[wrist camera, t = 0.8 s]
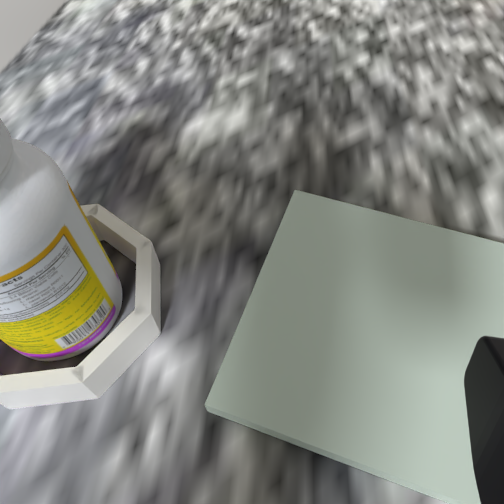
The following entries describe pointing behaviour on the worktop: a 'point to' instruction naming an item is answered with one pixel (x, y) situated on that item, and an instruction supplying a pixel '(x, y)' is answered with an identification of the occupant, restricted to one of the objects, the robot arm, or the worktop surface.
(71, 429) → the worktop surface
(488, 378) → the robot arm
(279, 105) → the worktop surface
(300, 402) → the sage board
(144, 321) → the white flat octagonal ring
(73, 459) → the worktop surface
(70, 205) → the supplement bottle
